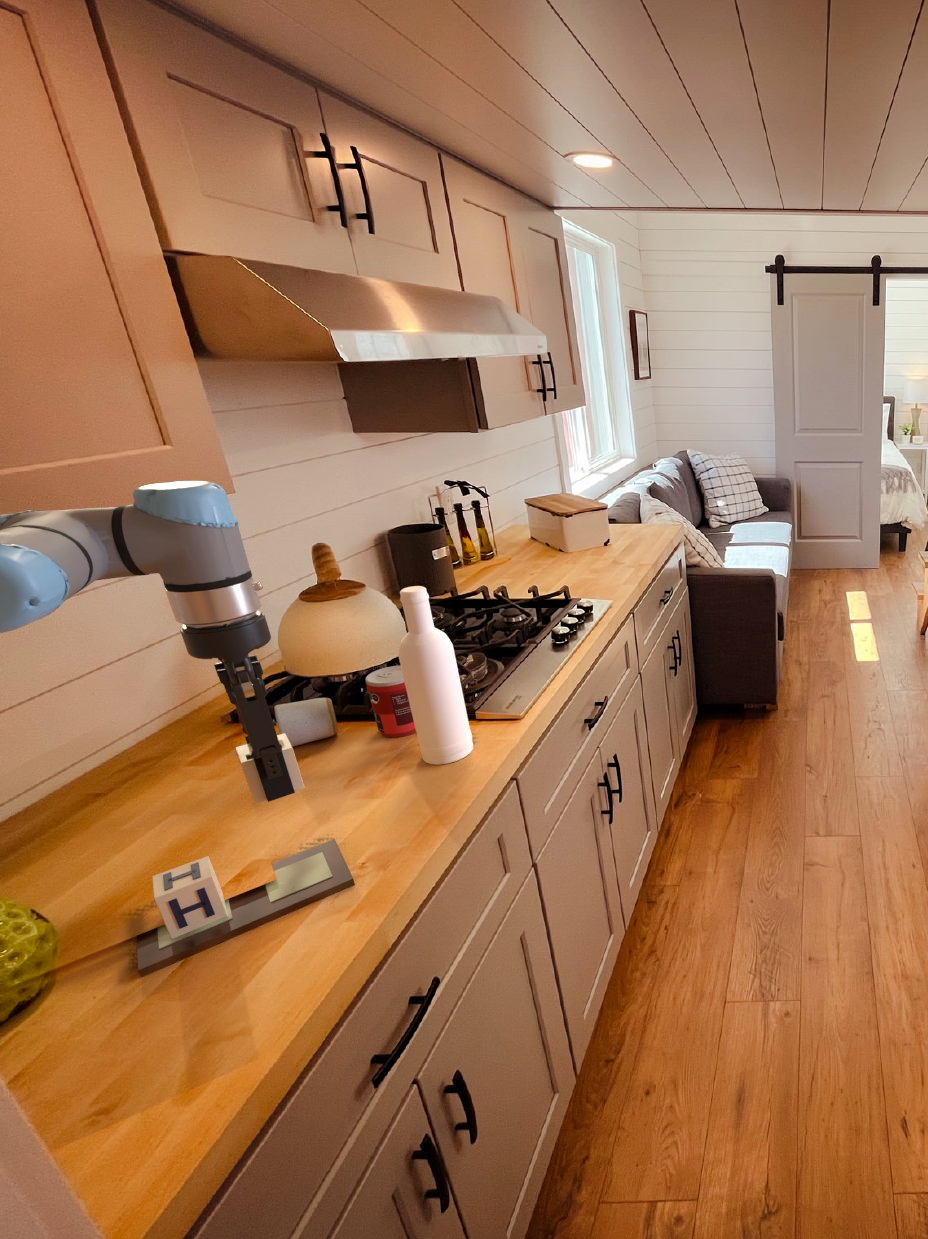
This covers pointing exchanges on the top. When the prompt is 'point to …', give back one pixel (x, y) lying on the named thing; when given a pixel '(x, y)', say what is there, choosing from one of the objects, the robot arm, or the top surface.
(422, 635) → the bottle
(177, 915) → the letter H
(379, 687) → the canned food
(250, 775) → the letter I
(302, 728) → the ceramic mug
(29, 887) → the top surface
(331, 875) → the word board
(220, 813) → the top surface
